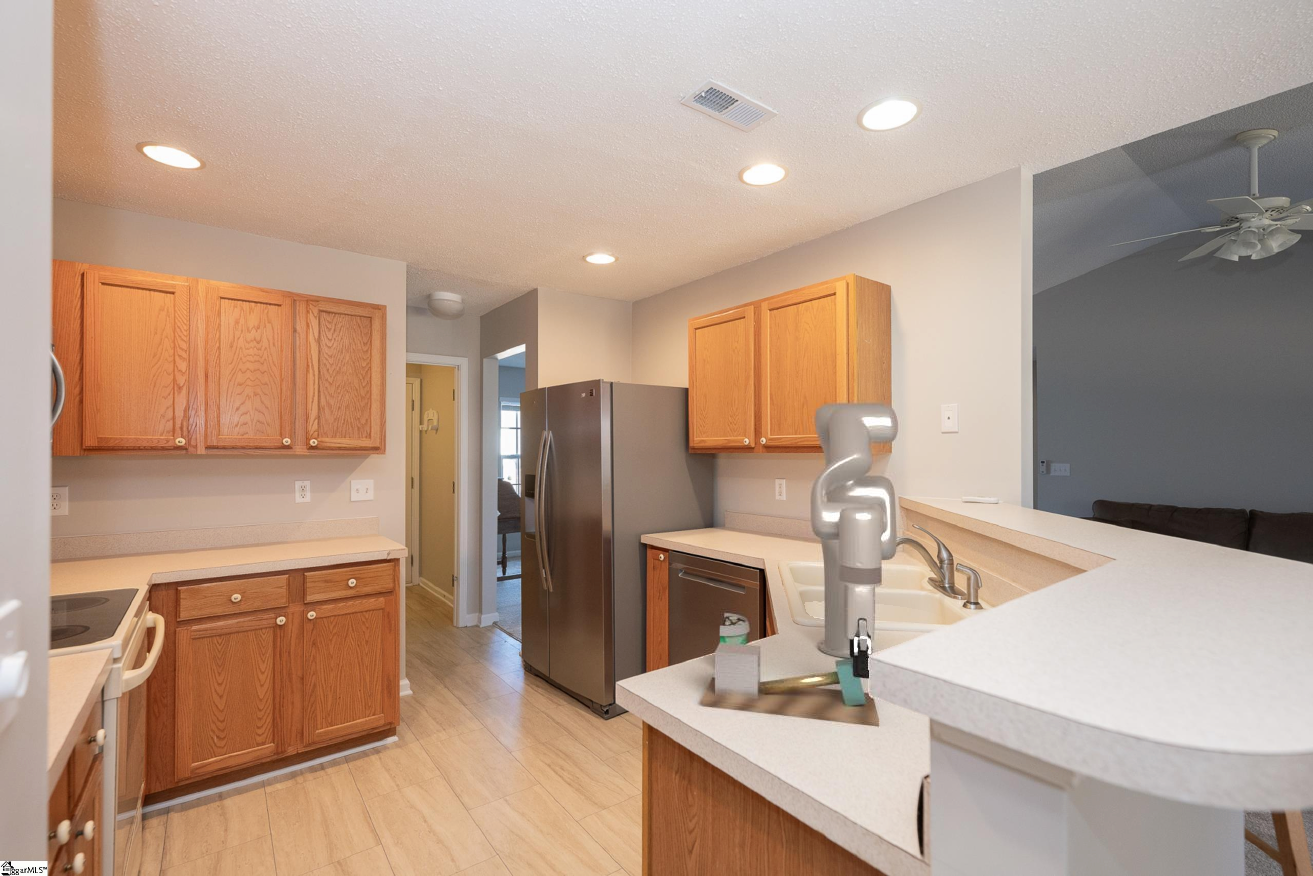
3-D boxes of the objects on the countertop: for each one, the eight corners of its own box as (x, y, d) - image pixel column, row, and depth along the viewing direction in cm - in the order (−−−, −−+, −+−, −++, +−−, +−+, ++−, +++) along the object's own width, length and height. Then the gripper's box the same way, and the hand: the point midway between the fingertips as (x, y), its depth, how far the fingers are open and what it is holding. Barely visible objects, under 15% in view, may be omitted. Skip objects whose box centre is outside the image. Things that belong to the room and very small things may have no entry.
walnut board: (701, 705, 110) (701, 699, 110) (712, 682, 121) (712, 677, 122) (879, 726, 102) (878, 719, 102) (872, 699, 113) (872, 693, 114)
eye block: (714, 694, 112) (715, 651, 113) (719, 683, 118) (720, 642, 118) (757, 699, 110) (757, 655, 111) (760, 687, 116) (760, 646, 116)
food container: (748, 675, 126) (748, 628, 126) (719, 673, 127) (719, 626, 127) (750, 657, 138) (751, 614, 138) (724, 655, 139) (724, 612, 140)
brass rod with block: (768, 716, 111) (759, 678, 111) (770, 708, 114) (761, 671, 115) (866, 703, 106) (856, 663, 107) (864, 696, 110) (854, 657, 111)
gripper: (837, 564, 119) (837, 649, 119) (840, 584, 102) (841, 683, 102) (876, 566, 117) (877, 653, 117) (887, 587, 100) (887, 688, 100)
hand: (860, 667), depth 110 cm, fingers open, 9 cm apart
